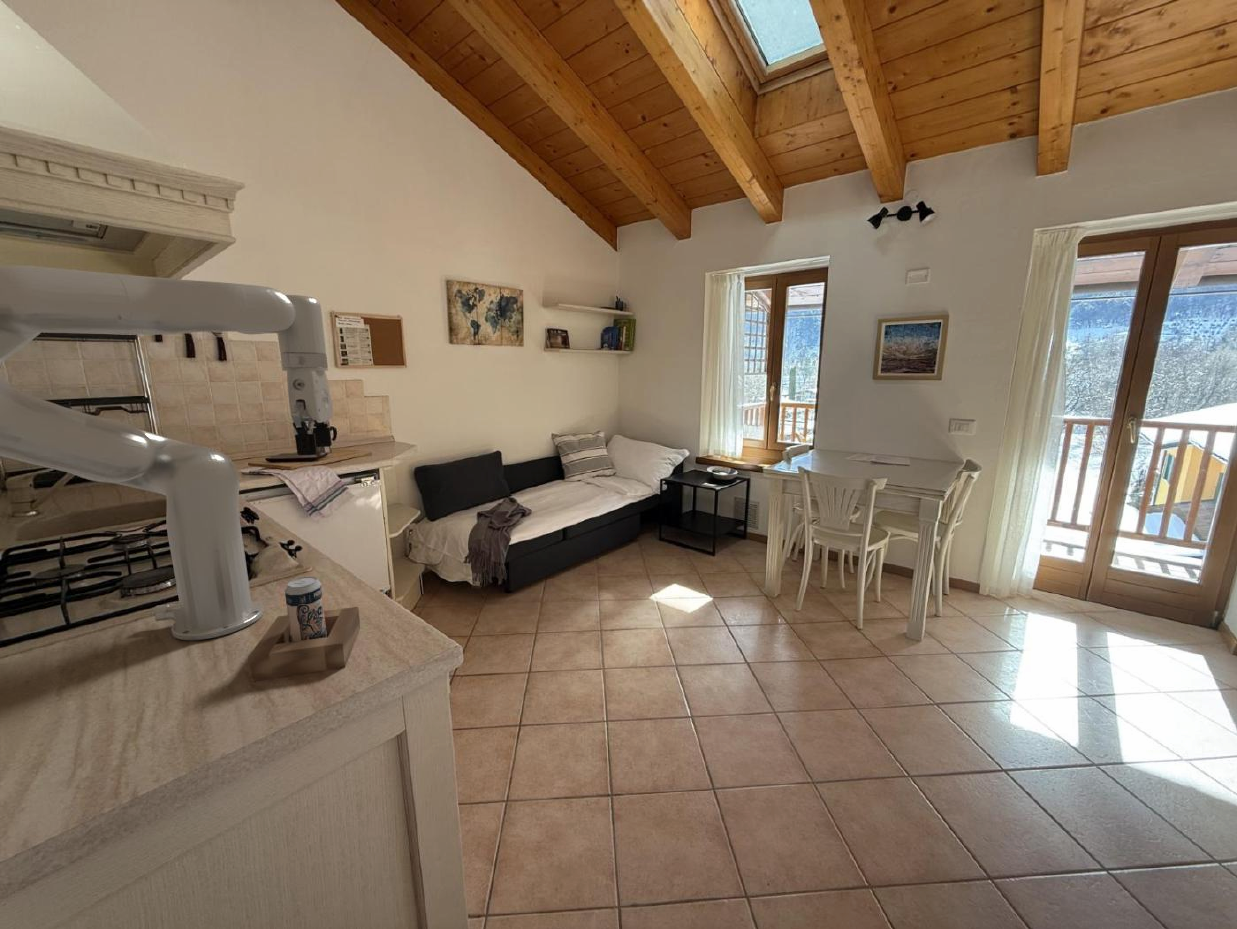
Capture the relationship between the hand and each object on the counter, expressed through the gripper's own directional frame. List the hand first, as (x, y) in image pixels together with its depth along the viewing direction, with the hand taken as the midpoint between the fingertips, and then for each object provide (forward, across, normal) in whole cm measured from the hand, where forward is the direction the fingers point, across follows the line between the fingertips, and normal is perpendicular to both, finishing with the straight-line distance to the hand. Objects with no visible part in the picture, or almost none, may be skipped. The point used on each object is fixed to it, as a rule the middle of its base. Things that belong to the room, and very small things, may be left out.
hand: (315, 450), depth 98 cm
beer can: (+28, -28, -4) cm, 40 cm away
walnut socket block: (+28, -28, -4) cm, 40 cm away
